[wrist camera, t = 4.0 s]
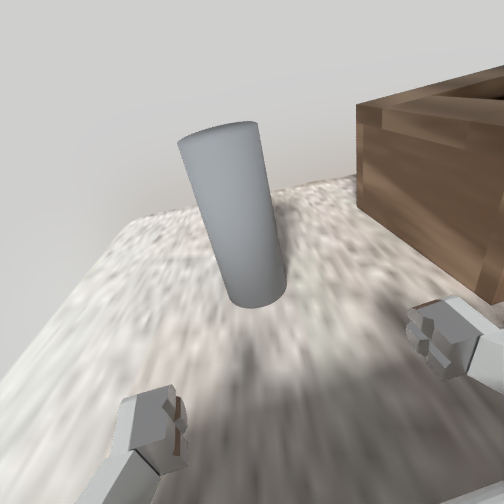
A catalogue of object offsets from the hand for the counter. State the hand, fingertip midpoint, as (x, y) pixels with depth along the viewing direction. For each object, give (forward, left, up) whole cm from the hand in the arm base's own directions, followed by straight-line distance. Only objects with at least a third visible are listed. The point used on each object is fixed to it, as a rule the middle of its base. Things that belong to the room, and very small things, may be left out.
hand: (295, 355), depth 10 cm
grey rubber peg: (0, -12, -7) cm, 14 cm away
